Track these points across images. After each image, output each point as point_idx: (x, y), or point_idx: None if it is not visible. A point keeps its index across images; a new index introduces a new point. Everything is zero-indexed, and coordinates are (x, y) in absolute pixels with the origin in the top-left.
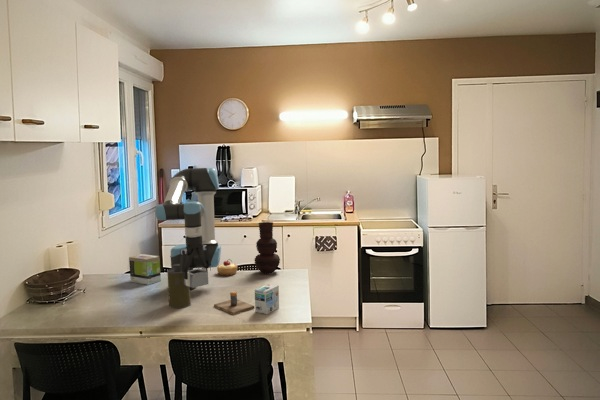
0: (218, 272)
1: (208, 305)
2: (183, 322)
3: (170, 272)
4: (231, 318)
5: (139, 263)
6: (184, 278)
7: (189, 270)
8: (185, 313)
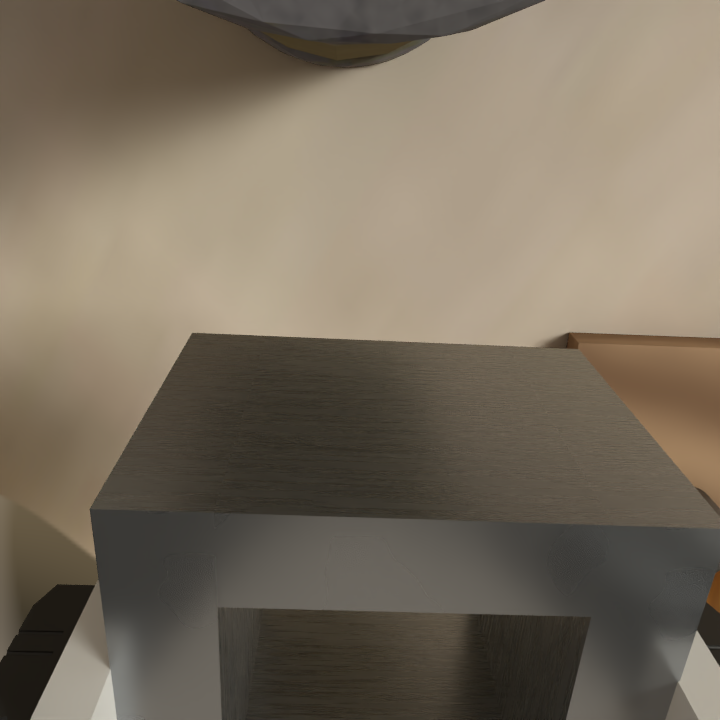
0: None
1: (564, 242)
2: (77, 482)
3: None
4: None
5: None
6: (45, 618)
7: (337, 519)
8: (218, 276)
